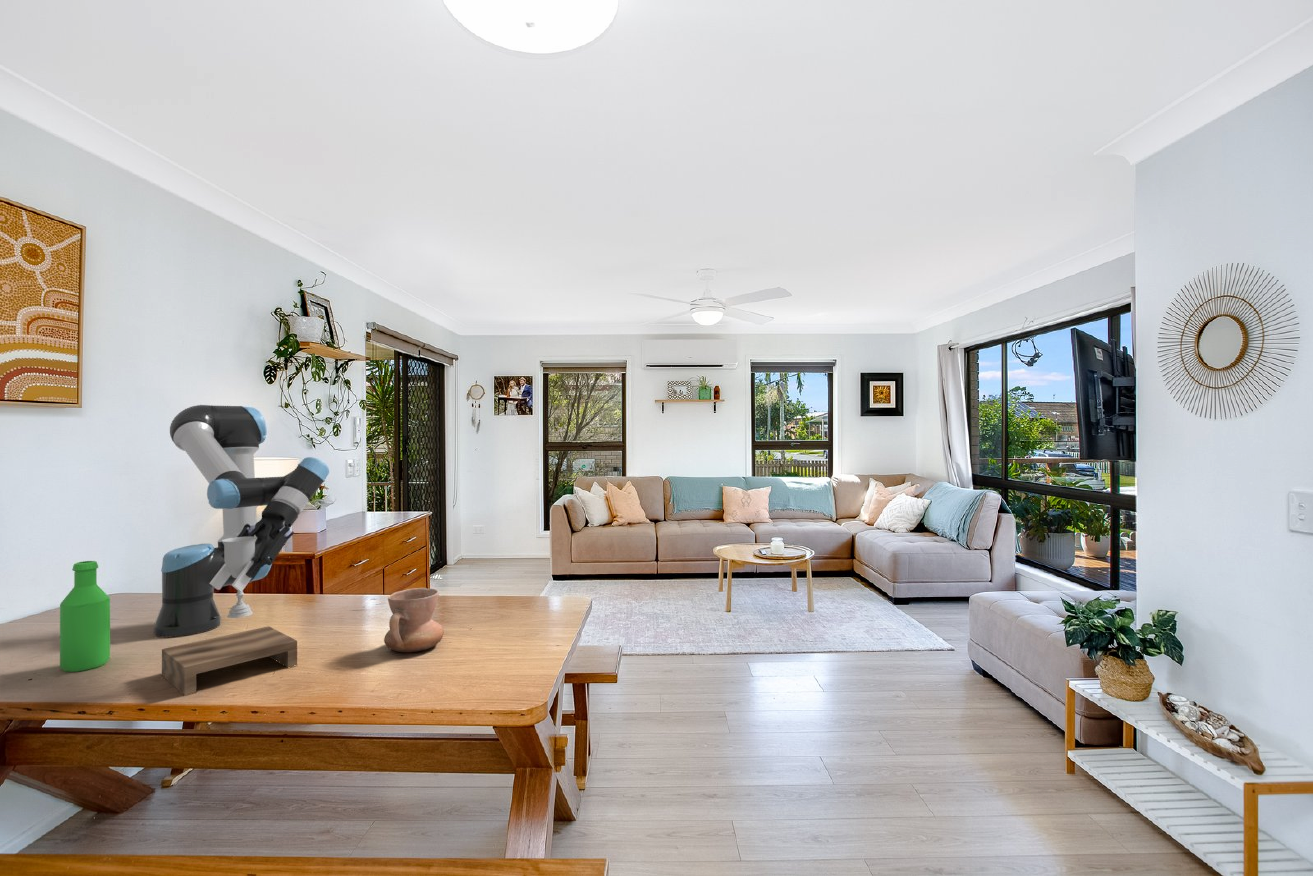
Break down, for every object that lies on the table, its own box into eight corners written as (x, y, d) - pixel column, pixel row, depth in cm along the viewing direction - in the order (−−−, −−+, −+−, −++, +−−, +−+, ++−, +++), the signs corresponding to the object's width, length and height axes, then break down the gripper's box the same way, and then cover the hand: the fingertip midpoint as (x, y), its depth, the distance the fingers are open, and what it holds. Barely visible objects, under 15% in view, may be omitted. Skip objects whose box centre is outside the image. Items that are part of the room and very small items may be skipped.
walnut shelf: (161, 675, 141) (161, 649, 141) (268, 649, 158) (268, 626, 158) (184, 695, 130) (184, 667, 130) (297, 665, 147) (297, 640, 147)
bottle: (66, 676, 141) (66, 567, 141) (54, 668, 145) (54, 563, 145) (116, 664, 148) (115, 560, 148) (102, 657, 153) (102, 557, 153)
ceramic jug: (410, 634, 170) (409, 584, 170) (457, 638, 167) (456, 586, 166) (365, 659, 153) (364, 602, 152) (416, 663, 149) (415, 605, 149)
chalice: (239, 620, 141) (239, 542, 141) (214, 618, 142) (213, 541, 142) (265, 611, 148) (264, 537, 148) (240, 609, 150) (240, 536, 150)
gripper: (323, 518, 158) (268, 599, 142) (264, 516, 162) (204, 593, 147) (306, 500, 153) (247, 581, 137) (246, 498, 157) (182, 576, 142)
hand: (225, 587), depth 142 cm, fingers closed on chalice, 6 cm apart
